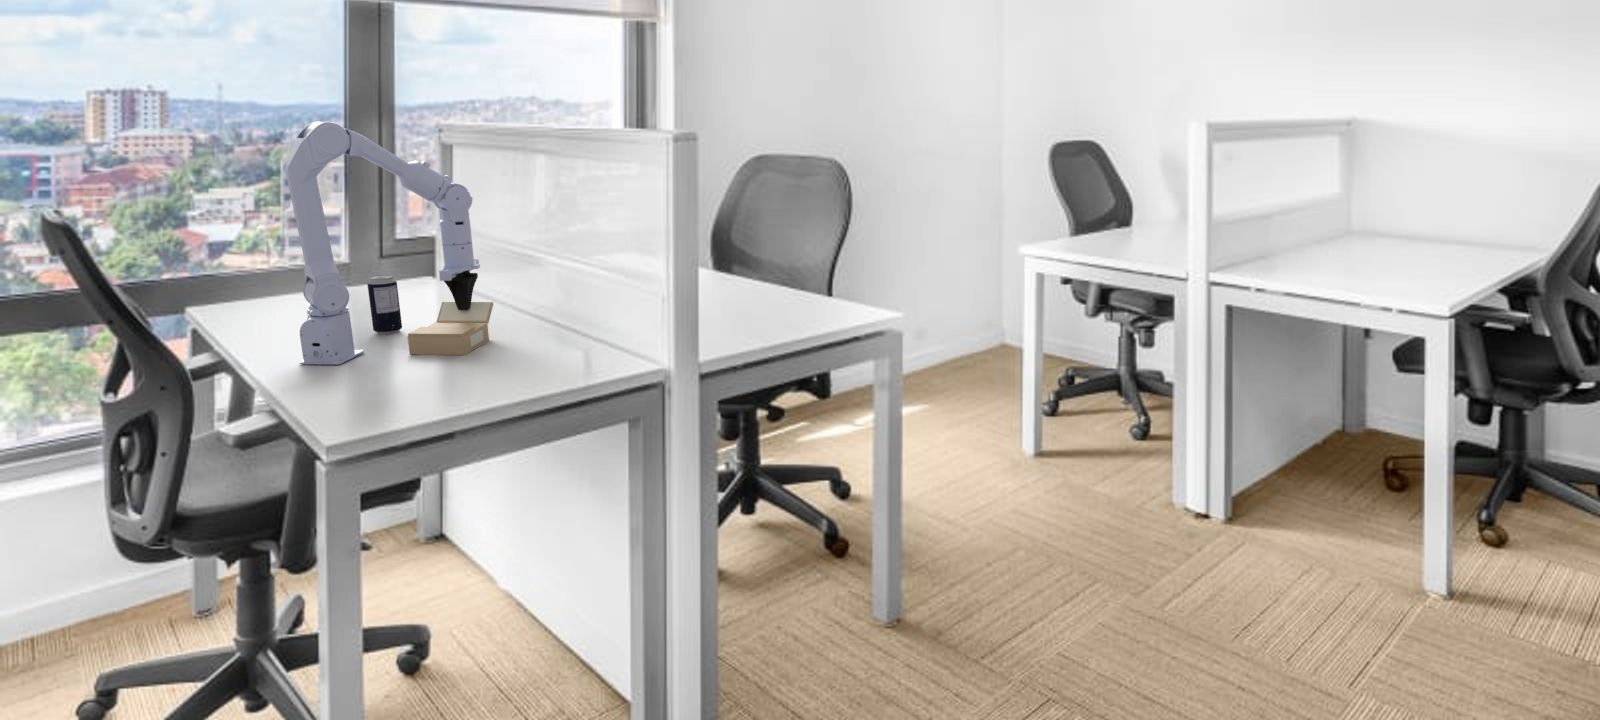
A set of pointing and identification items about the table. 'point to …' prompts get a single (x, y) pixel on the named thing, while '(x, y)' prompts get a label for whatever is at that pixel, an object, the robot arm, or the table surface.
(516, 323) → the table surface
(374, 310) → the beverage can
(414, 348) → the carton
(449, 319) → the flap
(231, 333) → the table surface
